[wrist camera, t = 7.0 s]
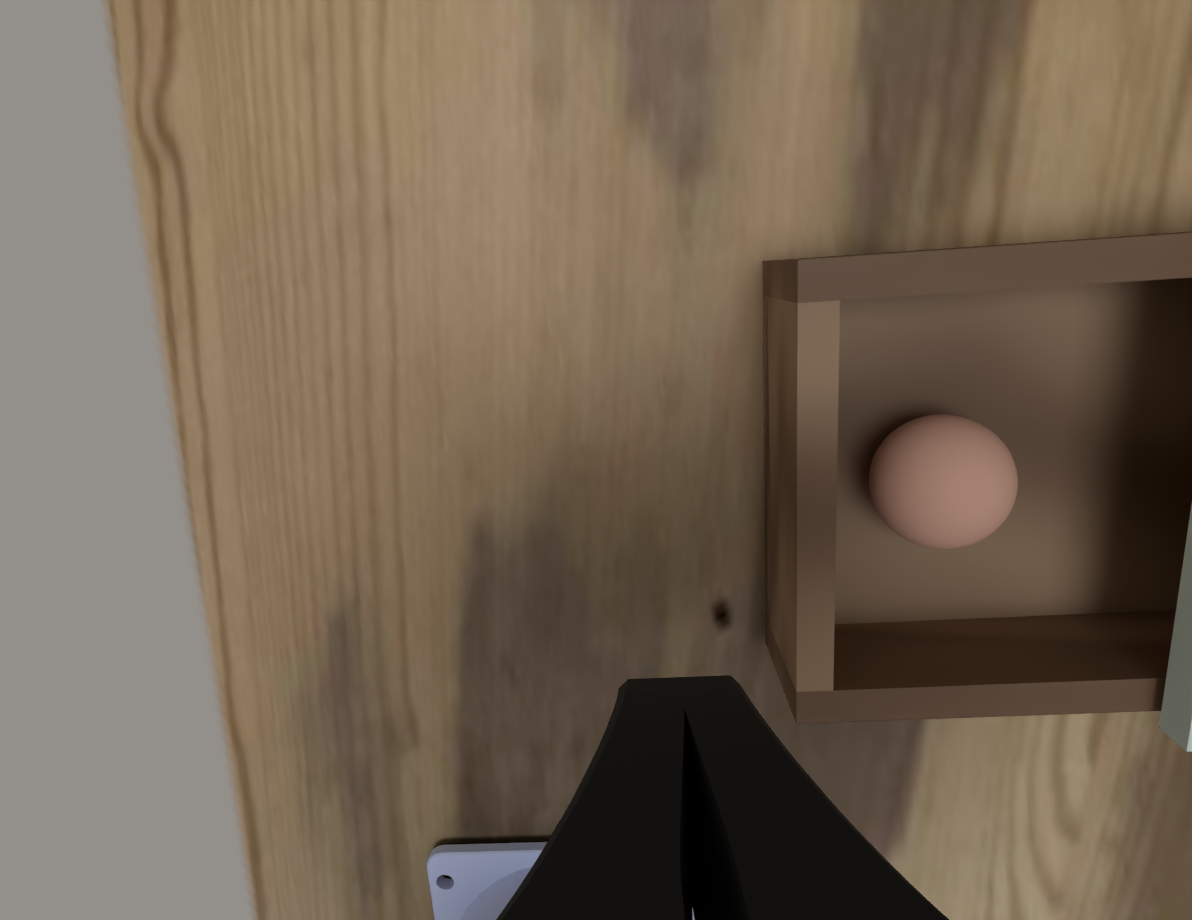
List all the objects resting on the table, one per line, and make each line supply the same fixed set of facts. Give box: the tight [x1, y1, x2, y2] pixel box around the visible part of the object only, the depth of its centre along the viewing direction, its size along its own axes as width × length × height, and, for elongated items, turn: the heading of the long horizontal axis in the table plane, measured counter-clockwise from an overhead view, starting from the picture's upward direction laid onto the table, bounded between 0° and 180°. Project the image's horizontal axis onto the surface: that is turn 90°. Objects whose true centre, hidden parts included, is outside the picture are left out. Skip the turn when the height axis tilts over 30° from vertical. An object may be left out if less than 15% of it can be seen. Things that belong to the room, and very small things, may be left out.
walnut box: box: [763, 232, 1192, 724], centre depth 17 cm, size 10×12×4 cm
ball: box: [869, 414, 1018, 549], centre depth 16 cm, size 3×3×3 cm
